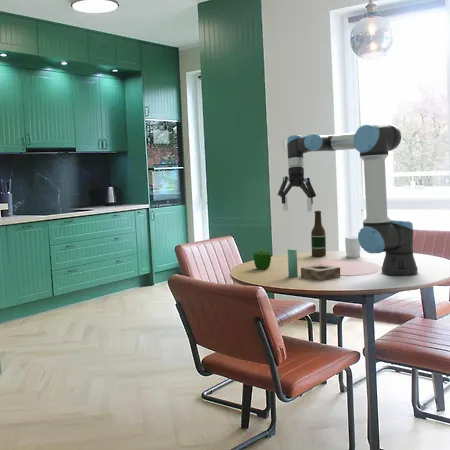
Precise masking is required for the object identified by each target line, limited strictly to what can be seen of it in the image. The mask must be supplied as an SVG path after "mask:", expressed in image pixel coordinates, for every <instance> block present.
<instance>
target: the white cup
mask: <svg viewBox="0 0 450 450" xmlns="http://www.w3.org/2000/svg"><path fill="white" fill-rule="evenodd" d="M344 243H345V244H344V245H345V255H346V257H347V258H360V256H361V255H360V254H361V246H360V244H359V241H358V236H345V237H344Z"/></svg>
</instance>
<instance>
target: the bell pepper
mask: <svg viewBox="0 0 450 450" xmlns="http://www.w3.org/2000/svg"><path fill="white" fill-rule="evenodd" d="M271 261H272V254H271V252H269V251H264V250H263V249H262V248H259V251H257V252H256V251H255V252H254V253H253V262H254V267H255V268H256V269H257V270H265V269H266V270H267V269H269V268H270V266H271Z"/></svg>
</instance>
